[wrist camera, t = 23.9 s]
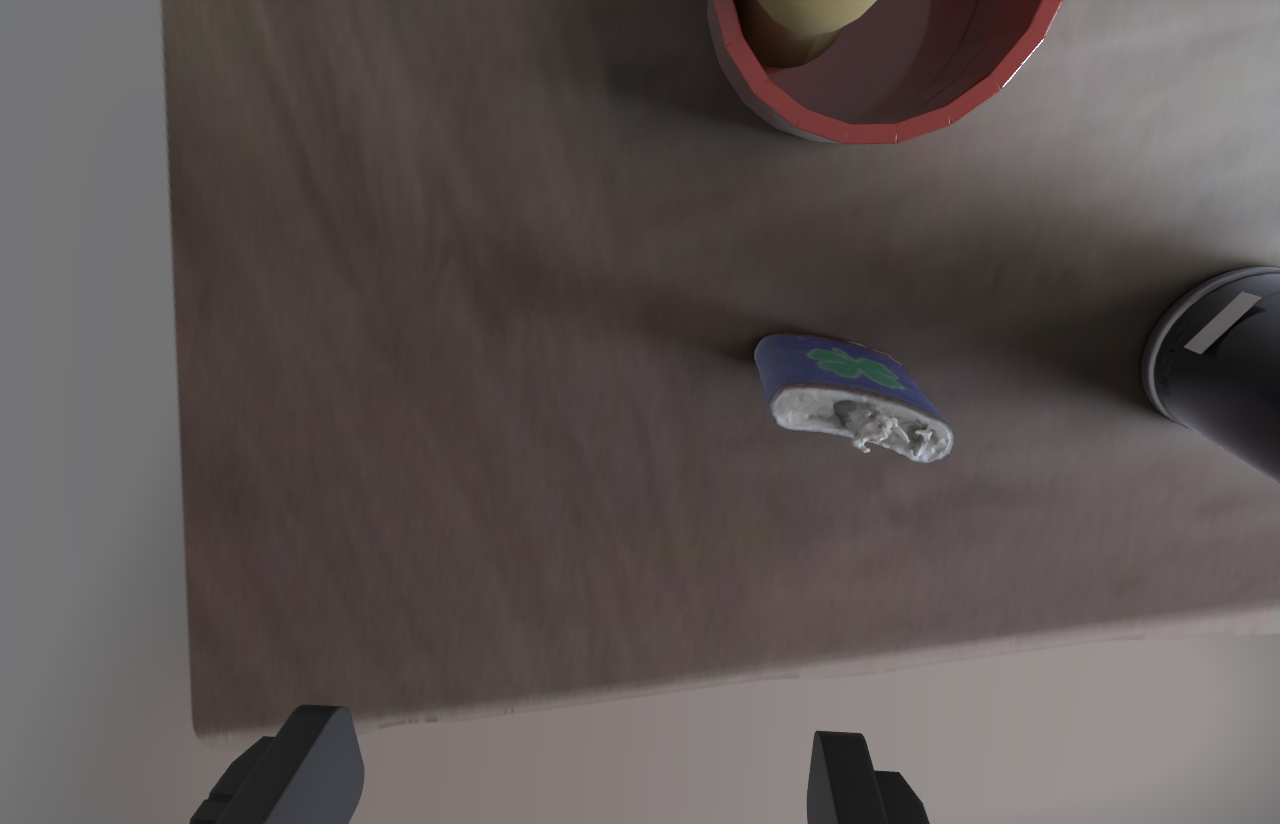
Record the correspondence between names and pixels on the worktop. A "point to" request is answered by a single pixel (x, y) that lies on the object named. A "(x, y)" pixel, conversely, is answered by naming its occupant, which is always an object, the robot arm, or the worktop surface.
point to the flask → (849, 395)
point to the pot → (887, 67)
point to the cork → (795, 27)
